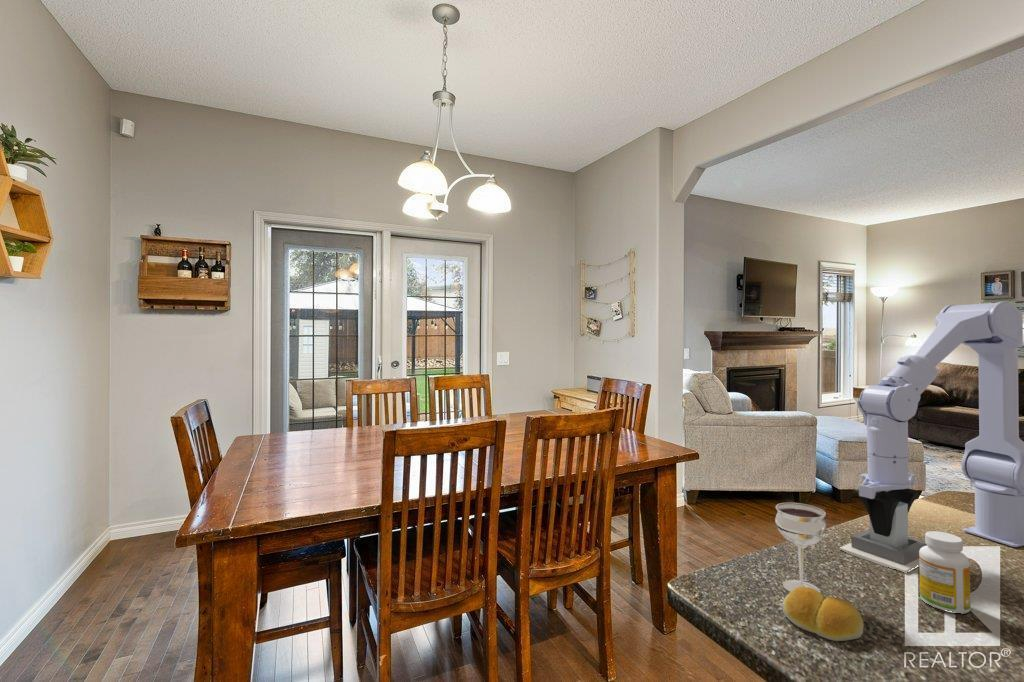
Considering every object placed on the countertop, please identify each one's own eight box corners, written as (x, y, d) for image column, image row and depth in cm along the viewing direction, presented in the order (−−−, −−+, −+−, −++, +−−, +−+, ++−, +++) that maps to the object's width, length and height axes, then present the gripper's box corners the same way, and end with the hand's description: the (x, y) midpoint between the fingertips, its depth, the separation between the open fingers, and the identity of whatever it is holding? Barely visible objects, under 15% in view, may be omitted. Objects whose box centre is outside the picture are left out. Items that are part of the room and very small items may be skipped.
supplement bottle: (950, 594, 71) (949, 529, 71) (981, 616, 66) (980, 544, 66) (910, 593, 72) (909, 528, 72) (938, 614, 67) (937, 544, 67)
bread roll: (855, 653, 59) (854, 621, 59) (776, 622, 66) (775, 593, 66) (871, 625, 65) (870, 595, 65) (797, 599, 72) (796, 572, 72)
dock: (875, 536, 92) (874, 522, 92) (940, 556, 83) (940, 542, 83) (839, 550, 87) (839, 536, 87) (905, 573, 78) (905, 558, 78)
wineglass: (800, 603, 70) (799, 520, 70) (766, 580, 77) (764, 504, 77) (839, 596, 72) (837, 515, 72) (802, 574, 78) (800, 500, 78)
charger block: (882, 541, 88) (881, 497, 88) (908, 549, 84) (907, 503, 84) (870, 546, 86) (869, 501, 86) (896, 554, 82) (895, 507, 82)
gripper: (883, 444, 92) (884, 516, 92) (839, 455, 85) (840, 532, 85) (928, 452, 86) (930, 529, 86) (885, 464, 79) (887, 547, 79)
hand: (888, 531), depth 85 cm, fingers closed on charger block, 4 cm apart
